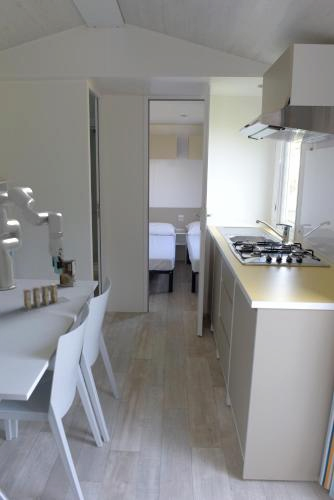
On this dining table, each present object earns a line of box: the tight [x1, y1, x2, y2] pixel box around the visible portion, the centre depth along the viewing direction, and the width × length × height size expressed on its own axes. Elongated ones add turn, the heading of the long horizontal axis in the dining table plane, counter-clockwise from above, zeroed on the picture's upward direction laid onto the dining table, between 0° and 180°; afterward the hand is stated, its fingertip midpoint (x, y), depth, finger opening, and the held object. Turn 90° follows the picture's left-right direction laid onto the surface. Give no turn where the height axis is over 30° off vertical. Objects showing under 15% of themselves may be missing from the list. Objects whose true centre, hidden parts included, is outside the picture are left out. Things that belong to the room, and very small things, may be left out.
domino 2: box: [32, 286, 41, 307], centre depth 205 cm, size 5×2×10 cm, turn 42°
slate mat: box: [19, 296, 72, 313], centre depth 209 cm, size 9×26×1 cm, turn 132°
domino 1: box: [23, 288, 32, 310], centre depth 201 cm, size 5×2×10 cm, turn 42°
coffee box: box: [58, 259, 77, 287], centre depth 242 cm, size 9×6×16 cm
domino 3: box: [41, 284, 50, 305], centre depth 208 cm, size 5×2×10 cm, turn 42°
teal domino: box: [53, 255, 61, 275], centre depth 210 cm, size 5×2×10 cm, turn 41°
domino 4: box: [49, 282, 59, 303], centre depth 211 cm, size 5×2×10 cm, turn 42°
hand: (57, 267), depth 211 cm, fingers closed on teal domino, 4 cm apart
